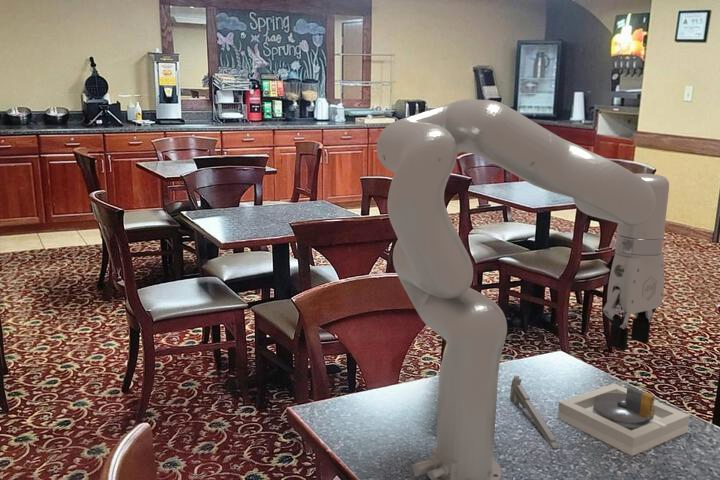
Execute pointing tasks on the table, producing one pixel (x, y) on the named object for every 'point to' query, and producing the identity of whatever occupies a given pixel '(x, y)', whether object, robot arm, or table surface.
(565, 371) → the table surface
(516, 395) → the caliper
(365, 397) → the table surface
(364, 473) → the table surface
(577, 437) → the table surface
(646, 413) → the grey round piece
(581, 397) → the tray
